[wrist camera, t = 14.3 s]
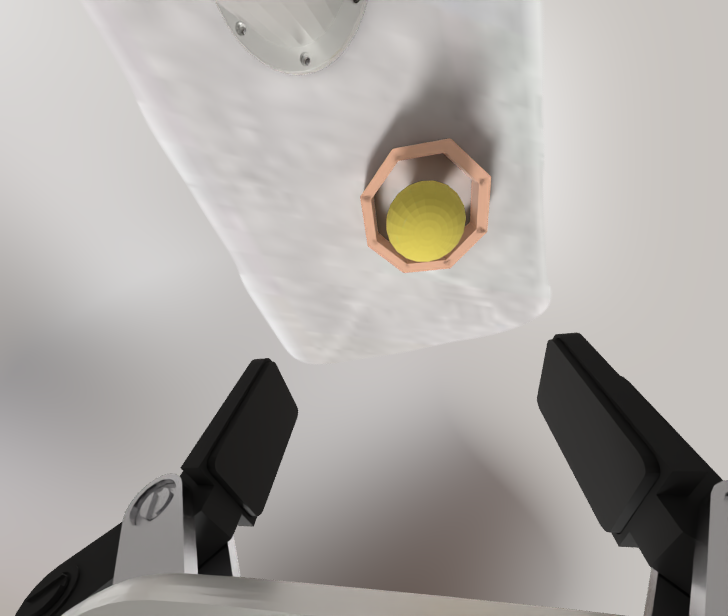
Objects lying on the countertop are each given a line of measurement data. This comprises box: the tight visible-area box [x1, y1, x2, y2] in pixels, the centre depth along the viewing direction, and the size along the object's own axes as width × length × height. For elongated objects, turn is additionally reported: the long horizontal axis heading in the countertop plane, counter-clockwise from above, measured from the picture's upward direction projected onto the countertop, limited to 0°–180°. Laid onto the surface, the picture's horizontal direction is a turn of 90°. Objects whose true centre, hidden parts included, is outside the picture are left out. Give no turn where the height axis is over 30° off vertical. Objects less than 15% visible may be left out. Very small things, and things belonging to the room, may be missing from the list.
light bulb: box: [386, 181, 466, 262], centre depth 25 cm, size 7×7×10 cm
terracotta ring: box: [360, 138, 491, 273], centre depth 28 cm, size 12×12×3 cm
